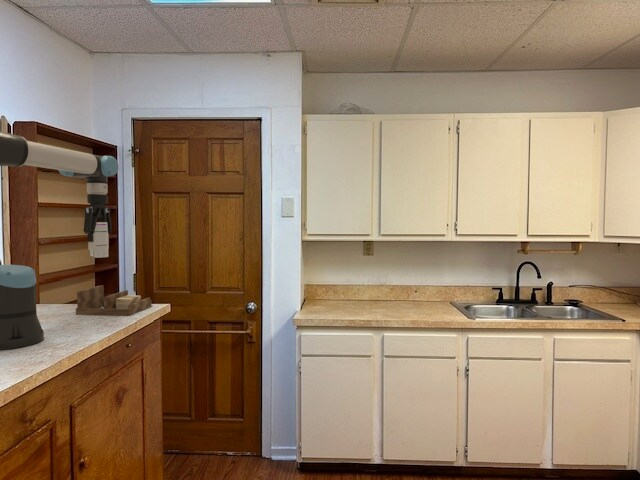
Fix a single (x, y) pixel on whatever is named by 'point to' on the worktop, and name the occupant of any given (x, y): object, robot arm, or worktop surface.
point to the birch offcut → (127, 300)
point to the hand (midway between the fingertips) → (98, 249)
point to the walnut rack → (106, 303)
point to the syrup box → (100, 241)
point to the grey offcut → (121, 307)
